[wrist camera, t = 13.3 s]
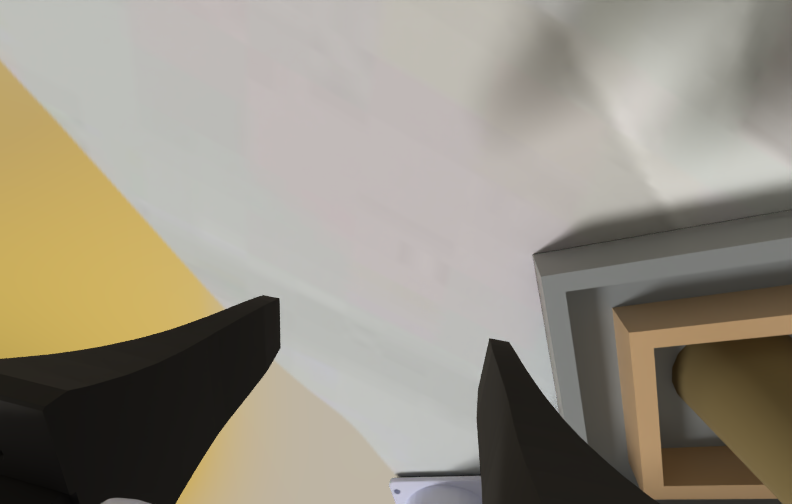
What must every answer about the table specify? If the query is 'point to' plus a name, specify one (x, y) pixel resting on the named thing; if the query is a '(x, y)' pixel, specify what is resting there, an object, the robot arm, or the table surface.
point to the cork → (744, 401)
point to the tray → (662, 345)
